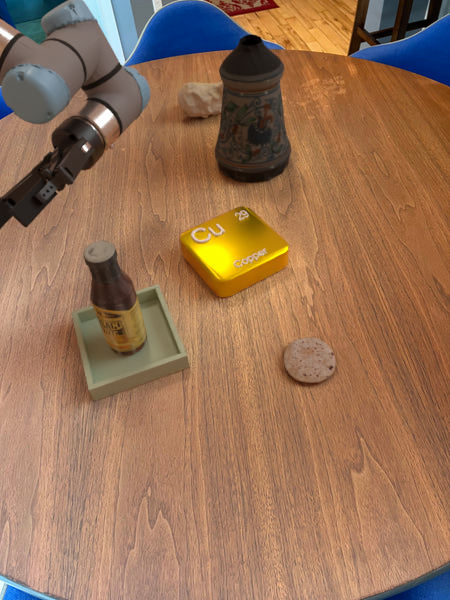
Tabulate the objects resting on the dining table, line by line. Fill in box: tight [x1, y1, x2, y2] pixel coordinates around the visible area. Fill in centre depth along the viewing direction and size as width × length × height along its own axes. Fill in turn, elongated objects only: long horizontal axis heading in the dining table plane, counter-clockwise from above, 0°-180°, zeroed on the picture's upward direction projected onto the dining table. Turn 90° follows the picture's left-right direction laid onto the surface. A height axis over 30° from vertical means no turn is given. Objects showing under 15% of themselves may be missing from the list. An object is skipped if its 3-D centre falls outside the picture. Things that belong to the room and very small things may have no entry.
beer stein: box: [214, 33, 292, 184], centre depth 97 cm, size 16×19×25 cm
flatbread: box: [283, 336, 336, 384], centre depth 71 cm, size 8×8×1 cm
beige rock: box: [177, 79, 223, 119], centre depth 119 cm, size 15×7×15 cm
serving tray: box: [70, 283, 191, 402], centre depth 74 cm, size 16×15×3 cm
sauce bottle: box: [83, 240, 147, 355], centre depth 67 cm, size 7×6×20 cm
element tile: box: [179, 205, 290, 299], centre depth 85 cm, size 15×15×5 cm
